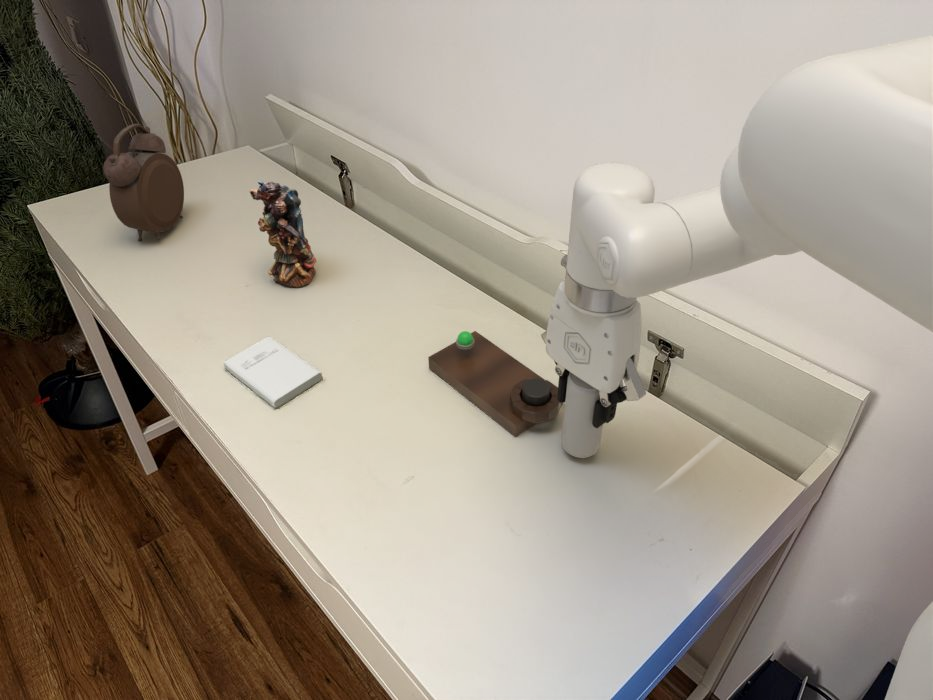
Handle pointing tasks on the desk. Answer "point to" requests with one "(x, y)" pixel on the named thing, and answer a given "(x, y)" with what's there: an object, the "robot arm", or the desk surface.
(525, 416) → the switch box
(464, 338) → the green lamp
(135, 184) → the alarm clock
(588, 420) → the beverage can
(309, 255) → the figurine
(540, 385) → the button
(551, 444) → the desk surface
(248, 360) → the hard drive
